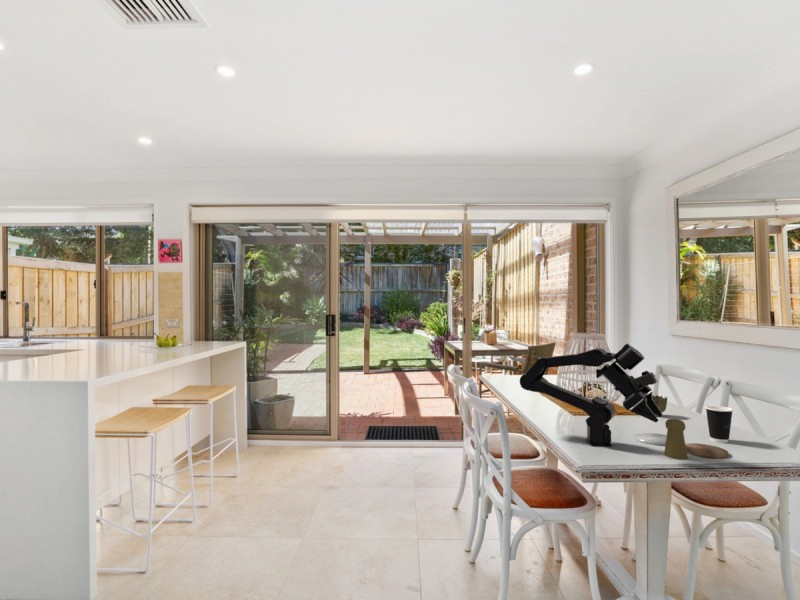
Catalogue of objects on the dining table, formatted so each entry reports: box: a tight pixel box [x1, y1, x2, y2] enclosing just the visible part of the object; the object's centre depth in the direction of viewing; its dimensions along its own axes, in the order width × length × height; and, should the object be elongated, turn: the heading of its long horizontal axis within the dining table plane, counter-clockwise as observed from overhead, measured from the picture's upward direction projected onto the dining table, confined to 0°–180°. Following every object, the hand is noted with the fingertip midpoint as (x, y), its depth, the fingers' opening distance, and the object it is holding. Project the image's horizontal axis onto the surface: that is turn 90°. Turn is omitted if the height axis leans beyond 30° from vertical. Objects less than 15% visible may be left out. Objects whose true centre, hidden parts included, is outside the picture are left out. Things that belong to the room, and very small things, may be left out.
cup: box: [652, 394, 668, 417], centre depth 190 cm, size 8×7×8 cm
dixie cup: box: [704, 405, 734, 444], centre depth 155 cm, size 8×8×11 cm
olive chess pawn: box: [663, 418, 688, 460], centre depth 139 cm, size 6×6×11 cm
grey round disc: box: [633, 432, 667, 446], centre depth 155 cm, size 12×12×1 cm
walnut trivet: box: [685, 442, 729, 460], centre depth 142 cm, size 12×12×1 cm
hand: (659, 418), depth 141 cm, fingers open, 9 cm apart
